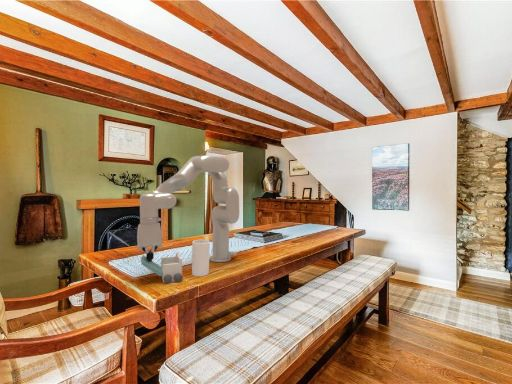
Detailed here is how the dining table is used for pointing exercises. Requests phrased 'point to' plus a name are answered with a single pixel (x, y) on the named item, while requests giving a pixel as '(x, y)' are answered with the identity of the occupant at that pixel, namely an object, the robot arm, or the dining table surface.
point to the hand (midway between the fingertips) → (150, 260)
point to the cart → (171, 269)
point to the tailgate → (151, 266)
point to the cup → (200, 257)
